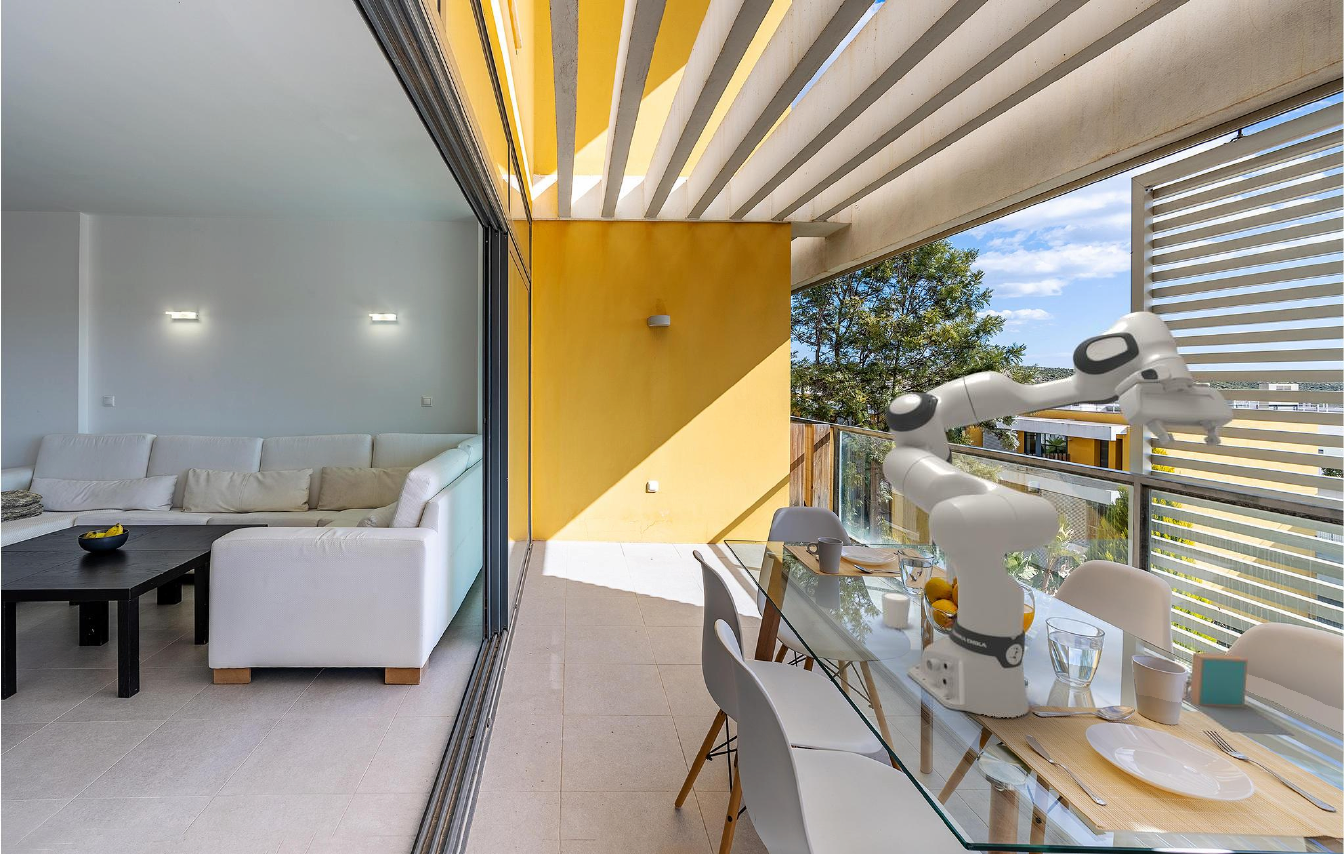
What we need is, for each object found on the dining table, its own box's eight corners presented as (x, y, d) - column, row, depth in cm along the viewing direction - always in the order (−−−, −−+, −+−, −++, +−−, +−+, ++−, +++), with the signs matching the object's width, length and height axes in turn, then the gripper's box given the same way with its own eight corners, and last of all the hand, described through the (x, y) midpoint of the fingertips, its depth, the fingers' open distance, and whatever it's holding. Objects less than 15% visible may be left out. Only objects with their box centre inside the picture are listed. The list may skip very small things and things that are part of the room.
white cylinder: (906, 631, 157) (907, 602, 156) (877, 625, 161) (878, 597, 160) (912, 622, 163) (913, 595, 162) (884, 617, 166) (885, 590, 166)
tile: (1190, 699, 122) (1193, 652, 122) (1235, 702, 122) (1239, 654, 121) (1198, 705, 120) (1201, 657, 120) (1244, 707, 120) (1248, 659, 119)
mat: (1173, 695, 125) (1173, 691, 125) (1228, 698, 125) (1228, 694, 125) (1230, 735, 111) (1231, 731, 111) (1294, 739, 110) (1294, 734, 110)
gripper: (1199, 392, 134) (1228, 452, 127) (1106, 389, 132) (1130, 450, 126) (1225, 375, 128) (1256, 437, 122) (1127, 372, 127) (1154, 435, 120)
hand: (1191, 444), depth 124 cm, fingers open, 8 cm apart
